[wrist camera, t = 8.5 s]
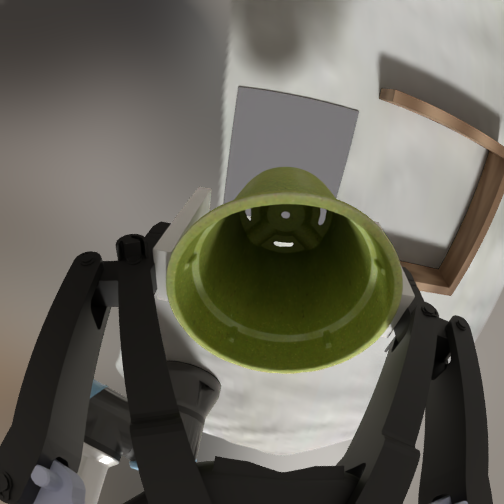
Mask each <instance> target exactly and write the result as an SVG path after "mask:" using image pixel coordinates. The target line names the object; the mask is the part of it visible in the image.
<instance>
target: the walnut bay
mask: <svg viewBox="0 0 504 504" xmlns="http://www.w3.org/2000/svg"><path fill="white" fill-rule="evenodd" d="M379 99H381V100H384V101H387V102H389V103H392V104H395V105H397V106H400V107H403V108H405V109H408V110H410V111H412V112H415V113H417V114H420V115H422V116H424V117H426V118H429V119H431V120H433V121H435V122H437V123H439V124H442V125H444V126H446V127H448V128H450V129H452V130H454V131H456V132H457V133H459V134H461V135H463V136H465V137H467V138H469V139H470V140H472V141H474V142H476V143H478V144H479V145H481V146H483V147H484V148H486V149H488V150H489V153H488V157H487V160H486V163H485V166H484V169H483V172H482V175H481V178H480V180H479V183H478V186H477V188H476V191H475V194H474V196H473V199H472V201H471V204H470V206H469V208H468V211H467V213H466V215H465V218H464V220H463V222H462V224H461V227H460V229H459V231H458V233H457V235H456V237H455V239H454V241H453V243H452V245H451V247H450V249H449V251H448V253H447V255H446V257H445V259H444V261H443V262H442V264H441V266H440V268H439V269H435V268H430V267H426V266H421V265H417V264H412V263H407V262H403V261H400V265H401V267H406V269H407V270H408V271H409V272H410V273H411V274H412V276H413V278H414V282H416V285H417V287H418V289H419V291H425V292H431V293H437V294H443V295H449V296H451V295H452V294H453V292H454V291H455V289H456V287H457V286H458V284H459V283H460V281H461V279H462V278H463V276H464V274H465V273H466V271H467V269H468V267H469V266H470V264H471V262H472V260H473V258H474V257H475V255H476V253H477V251H478V249H479V247H480V245H481V243H482V241H483V239H484V237H485V235H486V233H487V231H488V229H489V227H490V225H491V222H492V220H493V218H494V216H495V213H496V211H497V209H498V206H499V204H500V202H501V199H502V196H503V194H504V146H502V145H501V144H499V143H498V142H496V141H495V140H493V139H492V138H490V137H489V136H487V135H486V134H484V133H482V132H481V131H479V130H477V129H476V128H474V127H472V126H471V125H469V124H467V123H465V122H464V121H462V120H460V119H458V118H456V117H454V116H453V115H451V114H449V113H447V112H445V111H443V110H441V109H439V108H437V107H435V106H433V105H430V104H428V103H426V102H424V101H422V100H419V99H417V98H415V97H413V96H410V95H408V94H405V93H403V92H400V91H398V90H394V89H384V88H381V93H380V97H379Z"/></svg>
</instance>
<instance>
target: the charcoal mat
mask: <svg viewBox="0 0 504 504" xmlns="http://www.w3.org/2000/svg"><path fill="white" fill-rule="evenodd" d="M358 113H359V111H355V110H352V109H348V108H345V107H341V106H337V105H334V104H330V103H326V102H322V101H317V100H313V99H309V98H304V97H299V96H294V95H289V94H284V93H278V92H272V91H266V90H259V89H252V88H245V87H239V88H238V94H237V101H236V108H235V116H234V123H233V130H232V138H231V146H230V154H229V162H228V170H227V178H226V187H225V196H224V204H225V203H227V202H230V201H233V200H234V199H235V198H236V197H237V195H238V194H239V193H240V192H241V190H242V189H243V188H244V187H245V186H246V184H247V183H248V182H249V181H250V180H251V179H253V178H254V177H255V176H257V175H258V174H260V173H262V172H263V171H266V170H268V169H272V168H277V167H295V168H299V169H303V170H305V171H308V172H310V173H311V174H313V175H315V176H316V177H317V178H318V179H320V180H321V181H322V182H323V183H324V184H325V185H326V187H327V188H328V189H329V190H330V191H331V193H332V194H333V195H334V196H335V198H336V197H337V193H338V190H339V187H340V183H341V180H342V176H343V172H344V169H345V165H346V161H347V158H348V154H349V150H350V146H351V142H352V138H353V134H354V130H355V126H356V122H357V118H358ZM245 211H246V215H248V216H251V208H250V209H246V210H245ZM320 211H321V213H320V218H319V222H318V224H319V225H321V224H323V222H324V220H325V216H326V209H323V208H320ZM281 216H282V217H283V218H289V216H290V213H288V212H283V213H282V214H281Z"/></svg>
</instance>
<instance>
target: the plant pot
mask: <svg viewBox="0 0 504 504" xmlns="http://www.w3.org/2000/svg"><path fill="white" fill-rule="evenodd" d="M250 208H251V221H249V219H248V218H247V215H246V211H245V210H246V209H250ZM320 208H323V209H326V216H325V220H324V222H323V224H321V225H319V224H318V222H319V218H320V213H321V211H320ZM283 212H288V213H290V216H289V218H283V217H282V216H281V214H282V213H283ZM275 241H278V242H286V243H291V242H293V243H294V244H293V246H291V247H280V246H276V245H274V242H275ZM166 292H167V297H168V301H169V303H170V306H171V309H172V311H173V314H174V315H175V317H176V319H177V321H178V322H179V323H180V325H181V326H182V327H183V328H184V330H185V331H186V332H187V333H188V335H189V336H190V337H191V338H192V339H193V340H194V341H195V342H196V343H198V344H199V345H200V346H201V347H203V348H204V349H206V350H207V351H209V352H210V353H212V354H213V355H215V356H217V357H219V358H221V359H223V360H225V361H228V362H230V363H234V364H236V365H239V366H241V367H244V368H248V369H251V370H256V371H261V372H268V373H282V374H287V373H292V374H294V373H300V372H312V371H317V370H321V369H325V368H328V367H331V366H334V365H337V364H340V363H343V362H345V361H347V360H349V359H351V358H353V357H355V356H356V355H358V354H360V353H361V352H363V351H364V350H366V349H367V348H368V347H370V346H371V345H372V344H373V343H375V342H376V341H377V340H378V338H380V336H381V335H382V334H383V333H384V332H385V331H386V329H387V328H388V327H389V325H390V324H391V322H392V320H393V318H394V317H395V315H396V313H397V310H398V308H399V305H400V302H401V297H402V292H403V278H402V269H401V265H400V261H399V258H398V256H397V253H396V251H395V249H394V247H393V245H392V243H391V242H390V240H389V239H388V237H387V236H386V234H385V233H384V232H383V231H382V229H381V228H380V227H379V226H378V225H377V224H376V223H375V222H374V221H373V220H371V219H370V218H369V217H368V216H367V215H365V214H364V213H362V212H361V211H359V210H358V209H356V208H354V207H353V206H351V205H349V204H347V203H345V202H342V201H340V200H337V199H336V198H335V196H334V195H333V194H332V193H331V191H330V190H329V189H328V188H327V187H326V185H325V184H324V183H323V182H322V181H321V180H320V179H318V178H317V177H316V176H315V175H313V174H311V173H310V172H308V171H305V170H303V169H299V168H295V167H277V168H272V169H268V170H266V171H263V172H262V173H260V174H258V175H257V176H255V177H254V178H253V179H251V180H250V181H249V182H248V183H247V184H246V186H245V187H244V188H243V189H242V190H241V192H240V193H239V194H238V195H237V197H236V198H235V199H234V200H233V201H230V202H227V203H225V204H223V205H221V206H219V207H217V208H215V209H213V210H212V211H210V212H208V213H207V214H205V215H204V216H202V217H201V218H200V219H199V220H198V221H196V222H195V223H194V224H193V225H192V226H191V227H190V228H189V229H188V230H187V231H186V232H185V234H184V235H183V236H182V237H181V239H180V240H179V242H178V243H177V245H176V246H175V248H174V250H173V251H172V254H171V256H170V259H169V262H168V266H167V271H166Z"/></svg>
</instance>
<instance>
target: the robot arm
mask: <svg viewBox="0 0 504 504" xmlns="http://www.w3.org/2000/svg"><path fill="white" fill-rule="evenodd" d="M210 198H211V189H210V188H203V187H198V189H197V190H196V191H195V192H194V194H193V195H192V196H191V198H190V199H189V200H188V201H187V203H186V204H185V206H184V207H183V208H182V210H181V211H180V212H179V214H178V215H177V216H176V217H175V219H174V220H173V222H172V223H166V222H159V223H158V224H156V225H154V226H153V227H152V228H151V230H150V231H149V233H147V235H146V236H145V237H144V236H142V235H138V234H129V235H125V236H123V237H121V238H119V239H118V240H117V242H116V250H117V257H118V261H102V258H101V256H100V254H98V253H97V252H85V253H82V254H80V255H79V256H77V257H76V258H75V260H74V262H73V263H72V265H71V267H70V269H69V271H68V273H67V275H66V277H65V279H64V281H63V283H62V285H61V287H60V289H59V291H58V293H57V295H56V297H55V299H54V301H53V304H52V306H51V308H50V310H49V312H48V315H47V317H46V319H45V322H44V324H43V326H42V329H41V331H40V334H39V336H38V339H37V342H36V344H35V347H34V350H33V352H32V355H31V358H30V361H29V364H28V367H27V370H26V373H25V376H24V380H23V383H22V386H21V390H20V393H19V397H18V401H17V405H16V409H15V414H14V418H13V422H12V426H11V427H10V429H9V431H8V433H7V435H6V436H5V438H4V440H3V442H2V444H1V446H0V500H1V501H3V502H5V503H8V504H97V502H98V498H99V495H100V492H101V488H102V485H103V482H104V479H105V476H106V473H107V470H108V468H109V467H111V466H114V465H117V464H119V461H120V458H121V456H122V457H125V458H127V459H130V460H131V461H130V462H129V463H130V467H131V468H133V469H136V470H139V474H140V477H141V481H142V484H143V487H144V492H142V493H141V494H139V495H137V496H135V497H134V498H132V499H131V500H129V501H127V502H125V503H123V504H403V501H404V499H405V497H406V494H407V492H408V489H409V487H410V484H411V481H412V479H413V476H414V473H415V471H416V468H417V465H418V462H419V458H420V451H419V450H417V449H415V443H416V440H417V436H418V433H419V430H420V426H421V422H422V418H423V414H424V410H425V439H424V452H423V463H422V472H421V479H420V487H419V498H418V504H493V502H492V494H491V488H490V483H489V478H488V429H487V417H486V408H485V400H484V391H483V385H482V379H481V373H480V368H479V363H478V358H477V353H476V349H475V345H474V341H473V337H472V333H471V329H470V326H469V324H468V323H467V322H466V320H465V319H464V318H462V317H460V316H456V315H455V316H453V317H452V318H451V319H450V321H449V322H448V321H446V320H443V319H441V318H439V314H438V312H437V310H436V309H435V308H434V307H433V306H432V305H431V304H429V303H427V302H424V300H423V298H422V295H421V293H420V291H419V289H418V287H417V285H416V282H414V278H413V276H412V274H411V273H410V272H409V271H408V270H407V269H406V267H401V269H402V278H403V292H402V297H401V302H400V305H399V308H398V310H397V313H396V315H395V317H394V318H393V320H392V322H391V324H390V325H389V327H388V328H387V329H386V331H385V332H384V333H383V334H382V335H381V336H380V337H387V338H388V337H389V335H390V334H391V332H392V331H393V330H394V332H395V335H396V336H395V337H394V339H393V340H392V341H391V343H390V344H389V346H388V347H387V348H386V350H385V351H384V352H387V351H388V350H389V351H388V354H387V357H386V360H385V363H384V366H383V369H382V372H381V374H380V377H379V380H378V382H377V385H376V388H375V390H374V393H373V395H372V398H371V400H370V402H369V405H368V407H367V410H366V412H365V414H364V416H363V419H362V421H361V423H360V425H359V427H358V429H357V432H356V434H355V436H354V438H353V440H352V442H351V444H350V446H349V448H348V450H347V452H346V453H345V455H344V457H343V458H342V459H341V460H340V461H339V462H338V463H337V465H336V466H314V467H310V468H305V469H301V470H295V471H289V472H277V471H275V470H271V469H268V468H265V467H262V466H260V465H256V464H254V463H251V462H248V461H241V460H234V459H228V458H222V457H217V456H215V461H206V462H198V463H196V462H197V454H198V450H199V445H200V441H201V436H202V431H203V427H204V422H205V419H206V417H207V415H208V413H209V412H210V410H211V409H212V407H213V406H214V404H215V403H216V401H217V400H218V398H219V394H220V389H221V386H220V383H219V382H218V380H217V379H216V378H215V377H214V376H212V375H211V374H209V373H208V372H206V371H204V370H202V369H200V368H198V367H195V366H192V365H189V364H186V363H181V362H174V361H166V357H165V352H164V348H163V343H162V338H161V333H160V328H159V322H158V317H157V311H156V305H155V299H154V294H155V292H156V290H157V298H158V299H160V300H164V301H168V297H167V292H166V271H167V266H168V262H169V259H170V256H171V254H172V251H173V250H174V248H175V246H176V245H177V243H178V242H179V240H180V239H181V237H182V236H183V235H184V234H185V232H186V231H187V230H188V229H189V228H190V227H191V226H192V225H193V224H194V223H195V222H196V221H198V220H199V219H200V218H201V217H202V216H204V215H205V214H207V213H208V212H209V211H210ZM374 222H375V221H374ZM375 223H376V224H377V225H378V226H379V227H380V228H381V226H380V224H379V222H375ZM381 229H382V228H381ZM382 231H383V230H382ZM383 232H384V231H383ZM111 307H119V326H120V340H121V352H122V362H123V371H124V379H125V386H126V393H127V397H125V396H123V395H121V394H119V393H117V392H116V391H114V390H112V389H111V388H109V387H108V386H107V385H103V384H101V383H99V382H98V381H96V380H94V374H95V369H96V364H97V360H98V356H99V351H100V347H101V343H102V339H103V335H104V331H105V327H106V324H107V320H108V316H109V313H110V309H111ZM450 356H451V361H450V363H449V364H448V358H449V357H450Z"/></svg>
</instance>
